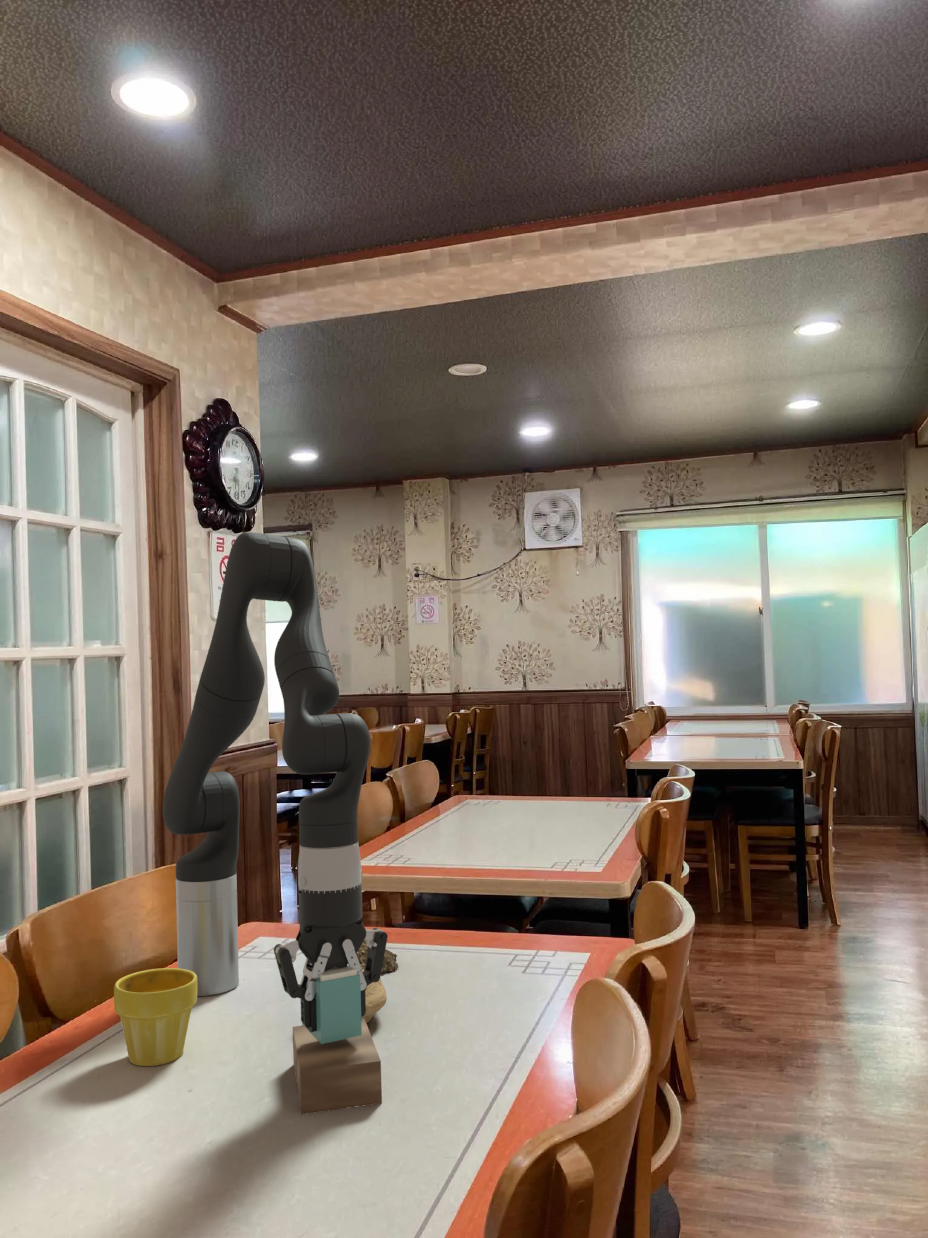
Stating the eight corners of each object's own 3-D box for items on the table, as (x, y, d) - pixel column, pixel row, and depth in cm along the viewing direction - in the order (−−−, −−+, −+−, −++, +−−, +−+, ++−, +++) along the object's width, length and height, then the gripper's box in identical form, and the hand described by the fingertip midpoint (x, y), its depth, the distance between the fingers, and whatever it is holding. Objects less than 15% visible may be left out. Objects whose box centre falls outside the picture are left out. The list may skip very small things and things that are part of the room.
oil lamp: (396, 1000, 144) (395, 945, 145) (379, 1040, 129) (377, 978, 130) (323, 1001, 145) (322, 946, 146) (297, 1040, 130) (296, 979, 131)
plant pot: (214, 1045, 129) (213, 970, 130) (166, 1077, 120) (165, 996, 120) (148, 1037, 133) (147, 964, 133) (97, 1068, 123) (95, 989, 123)
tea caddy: (307, 1030, 118) (306, 966, 118) (346, 1022, 120) (345, 959, 120) (321, 1044, 113) (319, 977, 114) (361, 1035, 116) (359, 970, 116)
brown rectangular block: (293, 1067, 122) (292, 1027, 122) (365, 1058, 124) (364, 1018, 124) (301, 1117, 108) (300, 1071, 109) (382, 1106, 111) (380, 1061, 111)
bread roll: (305, 974, 159) (304, 942, 159) (355, 954, 169) (355, 925, 170) (365, 986, 152) (364, 954, 152) (414, 965, 162) (413, 934, 162)
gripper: (373, 868, 124) (377, 1004, 123) (262, 883, 117) (266, 1027, 117) (397, 879, 117) (401, 1023, 117) (281, 895, 111) (284, 1048, 110)
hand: (333, 1024), depth 117 cm, fingers closed on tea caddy, 5 cm apart
